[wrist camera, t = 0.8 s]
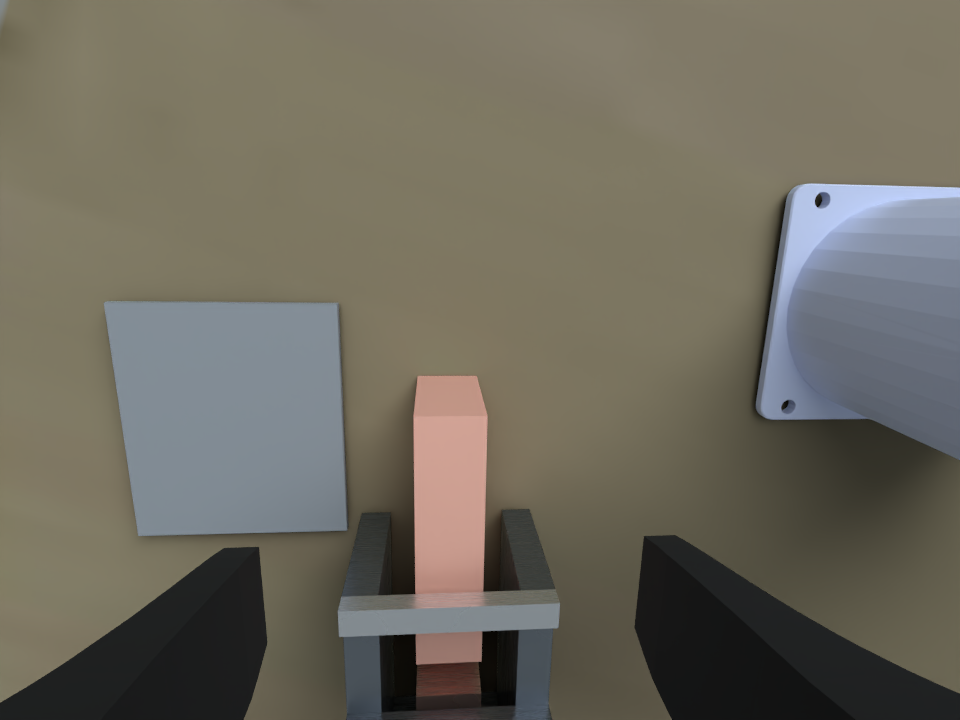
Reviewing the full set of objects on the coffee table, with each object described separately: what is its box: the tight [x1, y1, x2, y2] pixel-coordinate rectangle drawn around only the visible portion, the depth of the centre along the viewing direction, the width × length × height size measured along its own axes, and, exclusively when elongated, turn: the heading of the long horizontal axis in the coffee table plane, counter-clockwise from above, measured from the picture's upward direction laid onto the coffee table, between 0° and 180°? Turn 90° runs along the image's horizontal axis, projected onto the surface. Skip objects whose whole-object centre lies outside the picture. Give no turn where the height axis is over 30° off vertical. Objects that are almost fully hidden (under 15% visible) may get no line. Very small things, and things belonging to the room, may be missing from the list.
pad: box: [104, 301, 348, 536], centre depth 18 cm, size 7×8×1 cm
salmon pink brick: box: [414, 376, 487, 665], centre depth 18 cm, size 2×8×4 cm, turn 179°
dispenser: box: [338, 509, 560, 720], centre depth 19 cm, size 6×9×5 cm, turn 179°
